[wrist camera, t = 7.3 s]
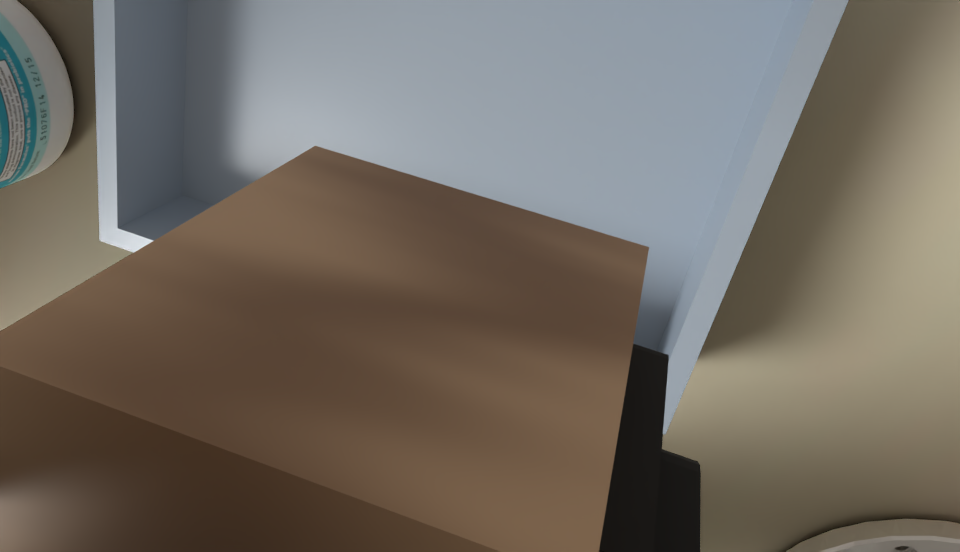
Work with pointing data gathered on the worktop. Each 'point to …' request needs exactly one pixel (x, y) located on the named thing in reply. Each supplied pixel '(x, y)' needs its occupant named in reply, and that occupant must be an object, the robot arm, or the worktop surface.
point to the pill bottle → (30, 96)
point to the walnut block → (326, 378)
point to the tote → (474, 116)
